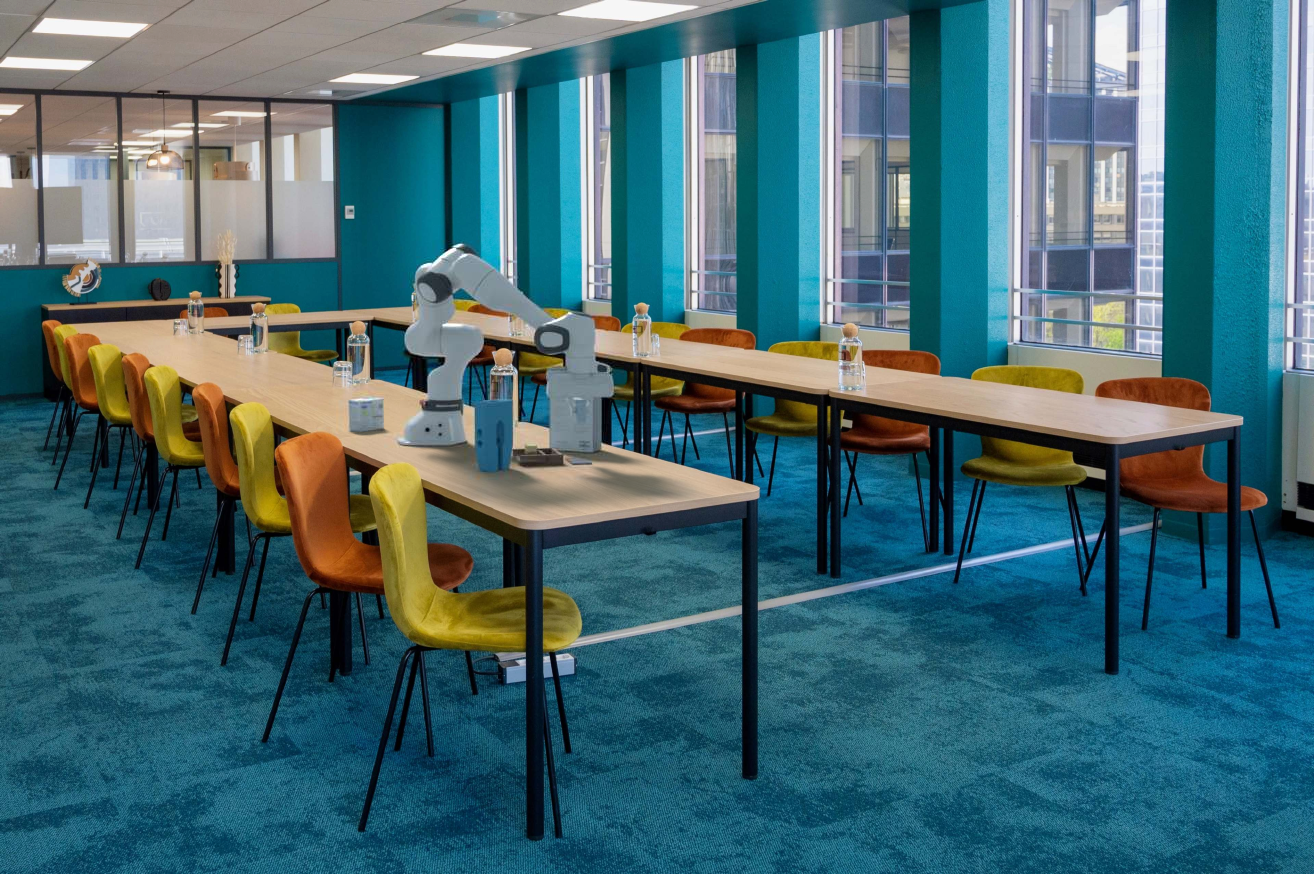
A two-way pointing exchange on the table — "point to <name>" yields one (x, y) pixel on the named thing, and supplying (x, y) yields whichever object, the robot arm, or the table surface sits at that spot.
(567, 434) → the hard drive box
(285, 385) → the table surface
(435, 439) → the robot arm
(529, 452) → the offcut lower
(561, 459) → the rack
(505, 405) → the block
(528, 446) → the offcut upper
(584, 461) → the mat
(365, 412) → the light bulb box
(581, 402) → the light blue rectangular block
